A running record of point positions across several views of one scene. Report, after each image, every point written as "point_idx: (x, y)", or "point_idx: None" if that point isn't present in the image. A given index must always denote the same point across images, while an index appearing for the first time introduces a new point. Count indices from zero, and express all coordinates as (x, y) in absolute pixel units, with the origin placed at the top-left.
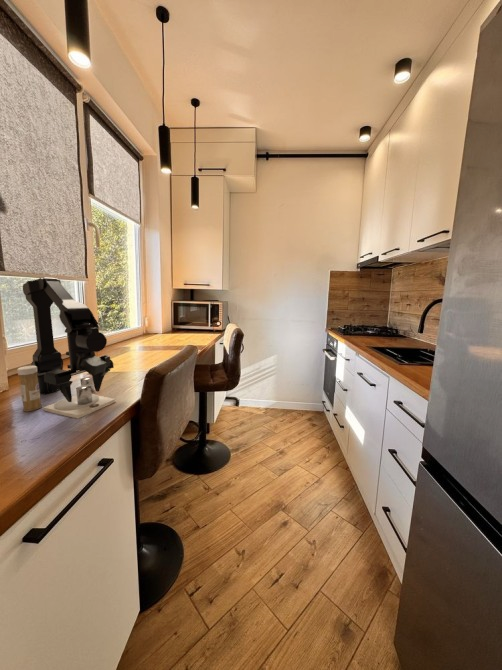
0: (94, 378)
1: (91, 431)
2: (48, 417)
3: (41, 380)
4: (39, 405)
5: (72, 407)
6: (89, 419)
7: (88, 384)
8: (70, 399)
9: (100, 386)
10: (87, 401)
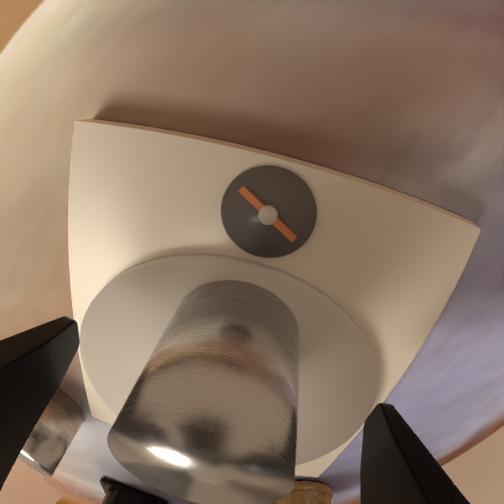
0: (2, 450)
1: None
2: (413, 403)
3: None
4: (294, 492)
5: (356, 361)
6: (476, 111)
7: (40, 428)
8: (401, 421)
9: (23, 333)
10: (265, 306)
